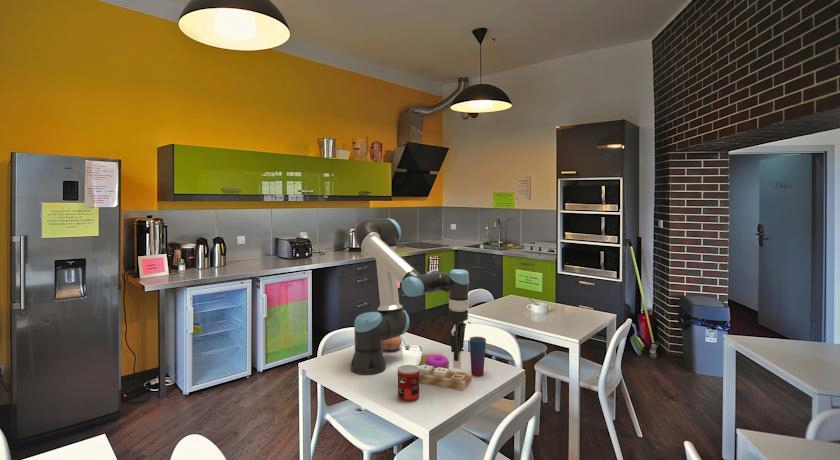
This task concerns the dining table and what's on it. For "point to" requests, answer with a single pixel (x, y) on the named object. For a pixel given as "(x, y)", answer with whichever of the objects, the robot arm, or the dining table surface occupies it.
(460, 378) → the button
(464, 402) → the dining table surface
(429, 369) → the button
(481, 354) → the cup
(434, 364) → the donut
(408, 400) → the canned food
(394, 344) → the orange pumpkin
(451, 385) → the panel
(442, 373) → the button
